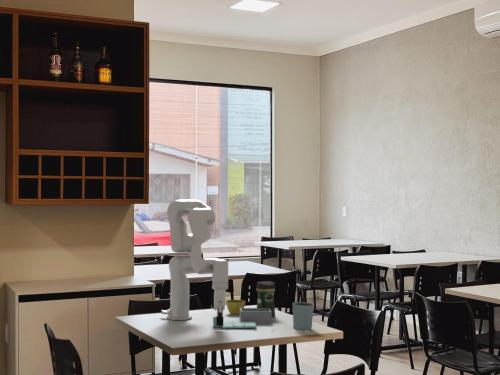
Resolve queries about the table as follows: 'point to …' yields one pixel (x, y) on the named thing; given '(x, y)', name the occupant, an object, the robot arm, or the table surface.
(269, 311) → the tub
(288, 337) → the table surface
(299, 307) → the grey-blue tapered cup
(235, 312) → the flower pot
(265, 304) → the coffee jar
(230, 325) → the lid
